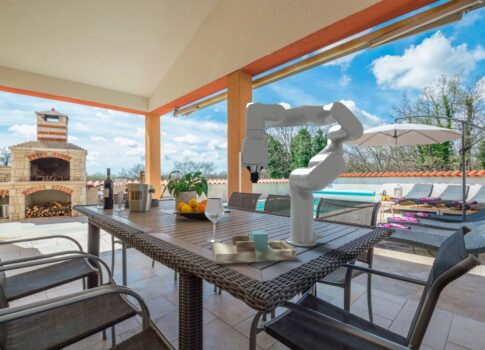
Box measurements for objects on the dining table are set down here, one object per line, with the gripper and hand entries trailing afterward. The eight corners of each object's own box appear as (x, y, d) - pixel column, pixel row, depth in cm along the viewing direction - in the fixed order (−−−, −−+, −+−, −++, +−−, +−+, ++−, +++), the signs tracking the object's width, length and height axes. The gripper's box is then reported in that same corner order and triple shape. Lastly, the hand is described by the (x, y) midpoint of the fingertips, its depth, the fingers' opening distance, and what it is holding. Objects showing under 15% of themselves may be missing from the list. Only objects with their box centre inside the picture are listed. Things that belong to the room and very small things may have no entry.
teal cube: (264, 244, 89) (265, 231, 89) (267, 249, 84) (267, 234, 84) (251, 245, 88) (251, 231, 88) (253, 249, 83) (253, 234, 83)
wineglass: (205, 238, 108) (205, 197, 108) (223, 238, 108) (224, 197, 108) (203, 243, 99) (204, 199, 100) (223, 243, 100) (224, 199, 100)
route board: (282, 248, 95) (282, 232, 95) (296, 259, 83) (296, 241, 83) (212, 251, 90) (212, 234, 90) (215, 263, 77) (216, 244, 77)
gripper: (270, 138, 100) (269, 183, 100) (234, 136, 97) (233, 182, 97) (276, 135, 93) (275, 183, 93) (238, 133, 90) (237, 183, 90)
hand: (254, 183), depth 95 cm, fingers closed
